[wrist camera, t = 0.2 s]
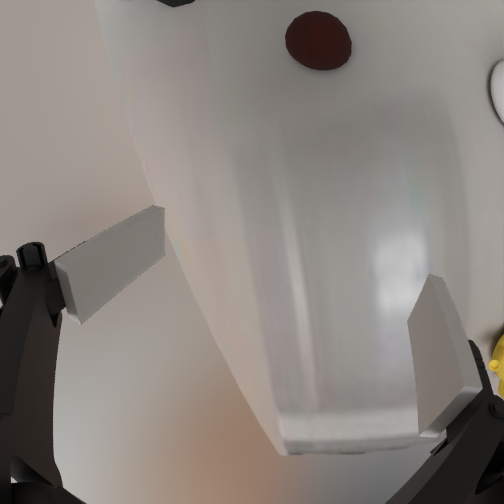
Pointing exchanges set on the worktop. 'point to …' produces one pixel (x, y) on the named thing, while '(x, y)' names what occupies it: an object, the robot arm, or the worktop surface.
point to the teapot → (499, 364)
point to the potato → (318, 41)
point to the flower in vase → (498, 88)
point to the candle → (175, 2)
